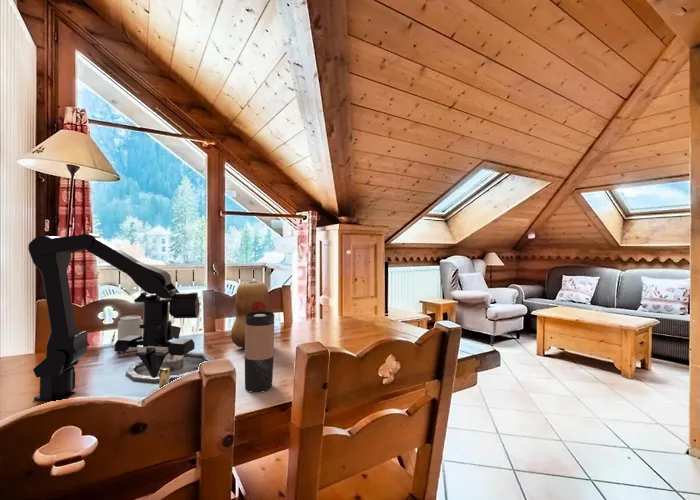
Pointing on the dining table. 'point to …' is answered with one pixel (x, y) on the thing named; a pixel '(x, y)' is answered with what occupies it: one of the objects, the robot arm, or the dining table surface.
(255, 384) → the travel mug
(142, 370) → the curvy grey metal tray
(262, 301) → the butternut squash
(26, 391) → the dining table surface
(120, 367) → the dining table surface
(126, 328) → the can
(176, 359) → the cover
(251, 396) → the dining table surface
